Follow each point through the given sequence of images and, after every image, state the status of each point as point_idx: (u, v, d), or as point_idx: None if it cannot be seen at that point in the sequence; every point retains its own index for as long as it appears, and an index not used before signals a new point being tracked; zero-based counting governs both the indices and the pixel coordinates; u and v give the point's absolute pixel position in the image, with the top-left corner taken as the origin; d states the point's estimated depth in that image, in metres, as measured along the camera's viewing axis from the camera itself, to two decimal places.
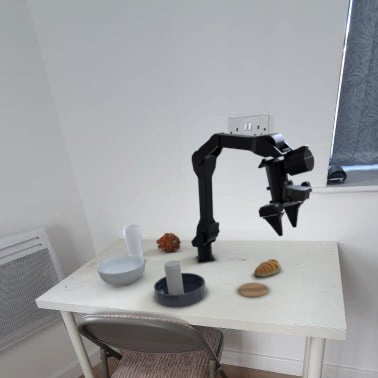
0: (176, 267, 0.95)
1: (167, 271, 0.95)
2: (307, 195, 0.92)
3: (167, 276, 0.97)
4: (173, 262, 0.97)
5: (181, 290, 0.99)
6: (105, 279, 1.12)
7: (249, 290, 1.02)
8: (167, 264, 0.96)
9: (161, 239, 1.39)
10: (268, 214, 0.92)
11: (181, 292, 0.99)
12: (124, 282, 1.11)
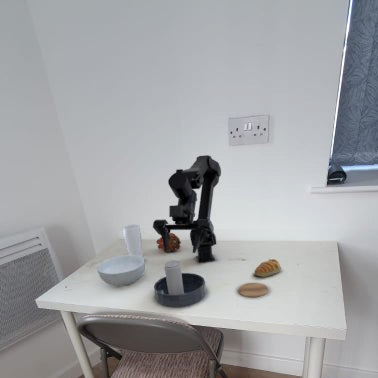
0: (176, 267, 0.95)
1: (167, 271, 0.95)
2: (176, 211, 0.96)
3: (167, 276, 0.97)
4: (173, 262, 0.97)
5: (181, 290, 0.99)
6: (105, 279, 1.12)
7: (249, 290, 1.02)
8: (167, 264, 0.96)
9: (161, 239, 1.39)
10: None
11: (181, 292, 0.99)
12: (124, 282, 1.11)
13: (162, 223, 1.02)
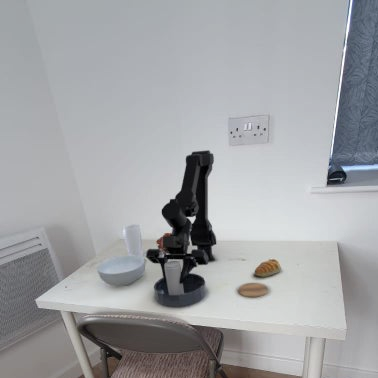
0: (176, 267, 0.95)
1: (167, 271, 0.95)
2: (168, 242, 0.93)
3: (167, 276, 0.97)
4: (173, 262, 0.97)
5: (181, 290, 0.99)
6: (105, 279, 1.12)
7: (249, 290, 1.02)
8: (167, 264, 0.96)
9: (161, 239, 1.39)
10: None
11: (181, 292, 0.99)
12: (124, 282, 1.11)
13: (155, 253, 0.99)
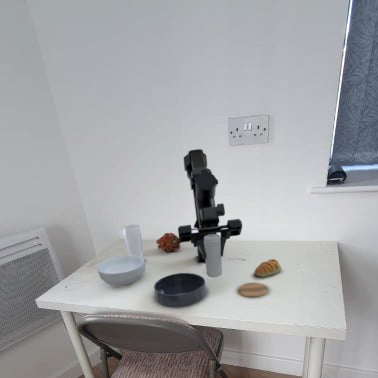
0: (218, 239, 0.92)
1: (210, 244, 0.92)
2: (210, 214, 0.90)
3: (209, 250, 0.93)
4: (211, 235, 0.94)
5: (221, 263, 0.97)
6: (105, 279, 1.12)
7: (249, 290, 1.02)
8: (207, 238, 0.93)
9: (161, 239, 1.39)
10: None
11: (221, 266, 0.97)
12: (124, 282, 1.11)
13: (189, 229, 0.94)
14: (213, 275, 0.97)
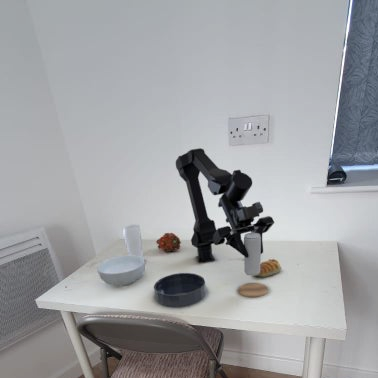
0: None
1: (254, 243, 0.93)
2: (252, 212, 0.90)
3: (253, 248, 0.93)
4: (249, 234, 0.95)
5: None
6: (105, 279, 1.12)
7: (249, 290, 1.02)
8: (249, 236, 0.93)
9: (161, 239, 1.39)
10: (217, 239, 0.94)
11: None
12: (124, 282, 1.11)
13: (230, 230, 0.93)
14: (255, 273, 0.97)
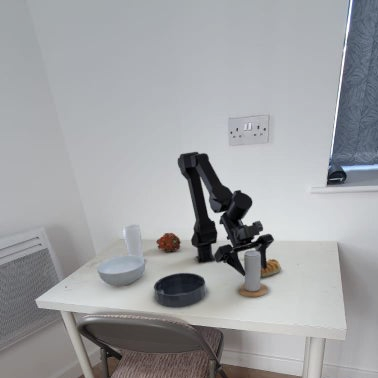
0: None
1: (254, 260, 0.95)
2: (253, 231, 0.93)
3: (253, 266, 0.96)
4: (249, 252, 0.98)
5: None
6: (105, 279, 1.12)
7: None
8: (249, 254, 0.96)
9: (161, 239, 1.39)
10: (218, 256, 0.97)
11: None
12: (124, 282, 1.11)
13: (231, 248, 0.95)
14: (255, 289, 1.00)
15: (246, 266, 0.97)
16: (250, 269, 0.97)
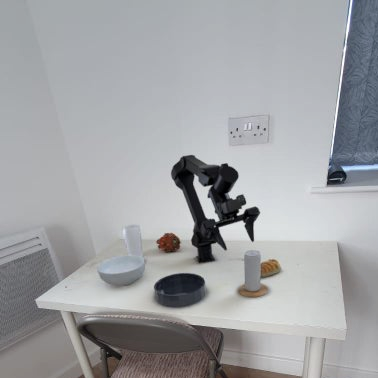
0: None
1: (254, 260, 0.95)
2: (234, 205, 0.95)
3: (253, 266, 0.96)
4: (249, 252, 0.98)
5: None
6: (105, 279, 1.12)
7: None
8: (249, 254, 0.96)
9: (161, 239, 1.39)
10: (203, 231, 1.00)
11: None
12: (124, 282, 1.11)
13: (214, 222, 0.98)
14: (255, 289, 1.00)
15: (246, 266, 0.97)
16: (250, 269, 0.97)
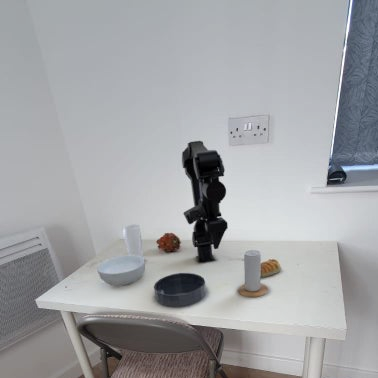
0: None
1: (254, 260, 0.95)
2: (186, 219, 1.03)
3: (253, 266, 0.96)
4: (249, 252, 0.98)
5: None
6: (105, 279, 1.12)
7: None
8: (249, 254, 0.96)
9: (161, 239, 1.39)
10: None
11: None
12: (124, 282, 1.11)
13: None
14: (255, 289, 1.00)
15: (246, 266, 0.97)
16: (250, 269, 0.97)
